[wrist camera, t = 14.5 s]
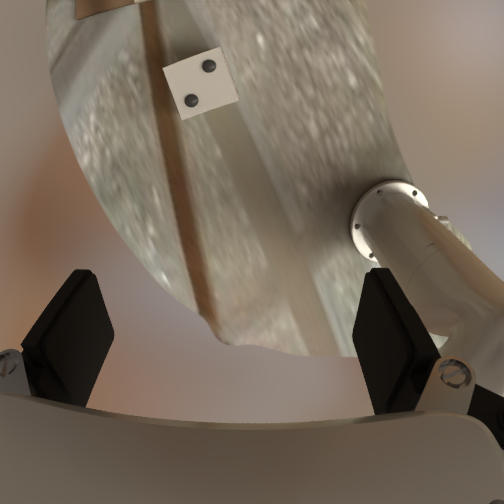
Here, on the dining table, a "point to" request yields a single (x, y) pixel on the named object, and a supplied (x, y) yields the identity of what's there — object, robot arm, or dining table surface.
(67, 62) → the dining table surface
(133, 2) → the game board
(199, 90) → the die
